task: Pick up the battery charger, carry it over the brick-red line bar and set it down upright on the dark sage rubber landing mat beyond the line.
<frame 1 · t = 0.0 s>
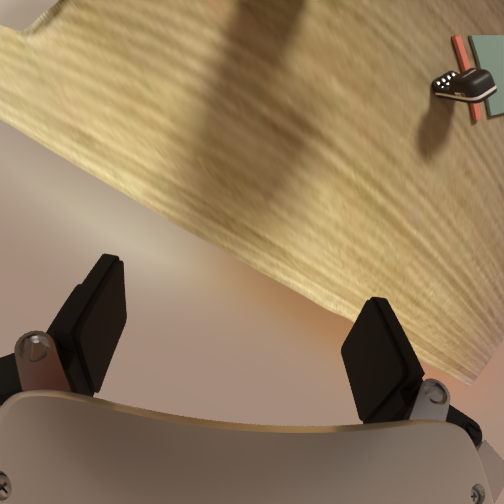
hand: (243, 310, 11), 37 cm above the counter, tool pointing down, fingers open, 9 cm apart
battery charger: (443, 81, 37), on the counter
landing mat: (497, 73, 34), on the counter
line bar: (466, 77, 35), on the counter
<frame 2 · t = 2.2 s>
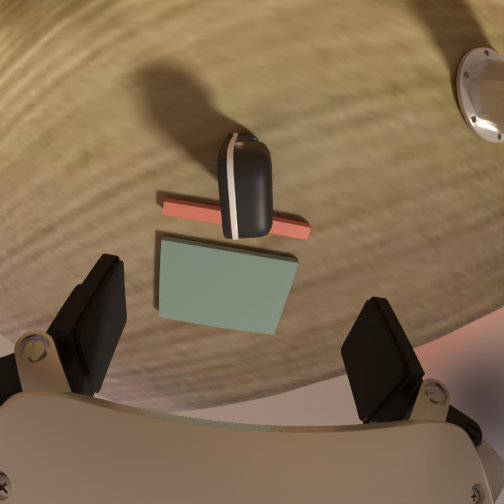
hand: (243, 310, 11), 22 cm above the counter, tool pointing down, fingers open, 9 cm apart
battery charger: (247, 163, 30), on the counter
landing mat: (223, 288, 38), on the counter
line bar: (237, 215, 33), on the counter
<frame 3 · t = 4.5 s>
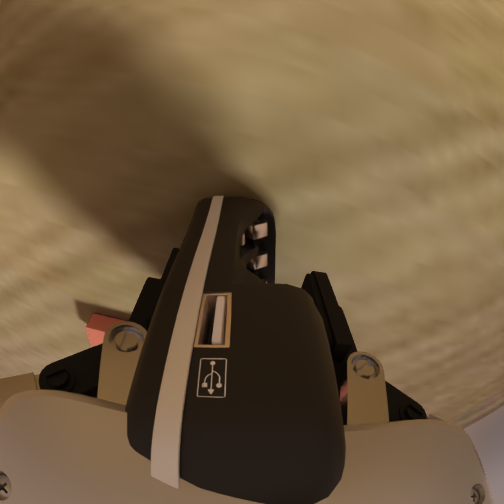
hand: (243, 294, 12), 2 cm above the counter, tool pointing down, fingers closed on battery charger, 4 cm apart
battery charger: (246, 259, 14), on the counter, touching gripper
line bar: (225, 347, 17), on the counter
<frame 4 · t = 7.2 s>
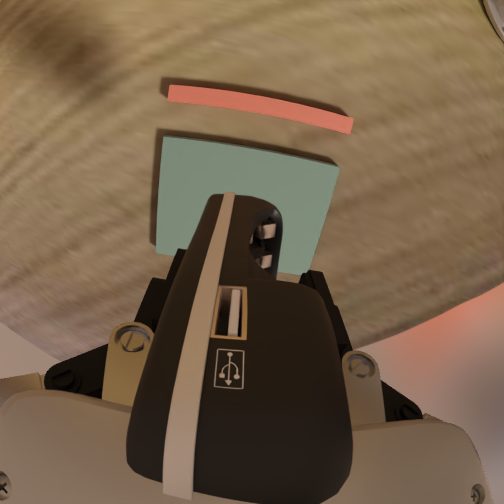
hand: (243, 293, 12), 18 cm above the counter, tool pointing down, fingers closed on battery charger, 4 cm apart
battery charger: (249, 258, 14), point 15 cm above the counter, touching gripper
landing mat: (241, 207, 29), on the counter
line bar: (261, 104, 24), on the counter
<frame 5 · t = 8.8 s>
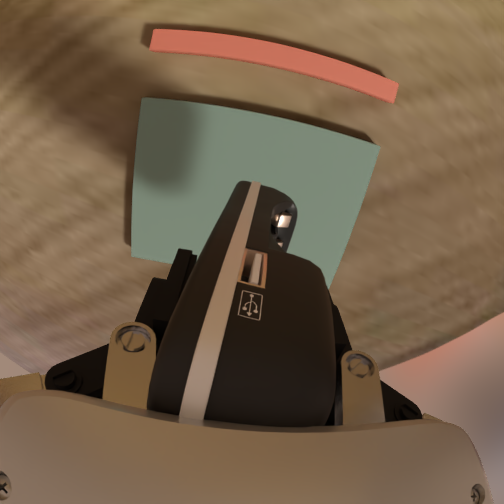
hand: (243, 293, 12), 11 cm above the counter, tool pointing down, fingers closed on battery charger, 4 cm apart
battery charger: (261, 244, 16), point 6 cm above the counter, touching gripper
landing mat: (246, 196, 21), on the counter
line bar: (277, 57, 16), on the counter
when the fingers open (5 cm above the counter, at t = 10.2 s): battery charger stays where it is, resting on landing mat.
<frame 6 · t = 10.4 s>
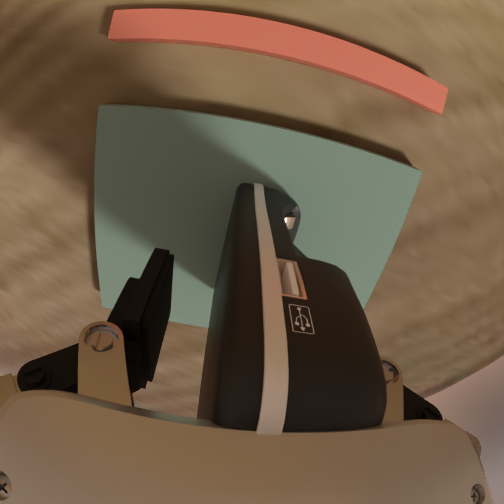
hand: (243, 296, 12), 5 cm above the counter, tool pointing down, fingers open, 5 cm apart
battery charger: (261, 246, 15), point 1 cm above the counter, touching landing mat
landing mat: (244, 236, 16), on the counter
line bar: (287, 45, 11), on the counter
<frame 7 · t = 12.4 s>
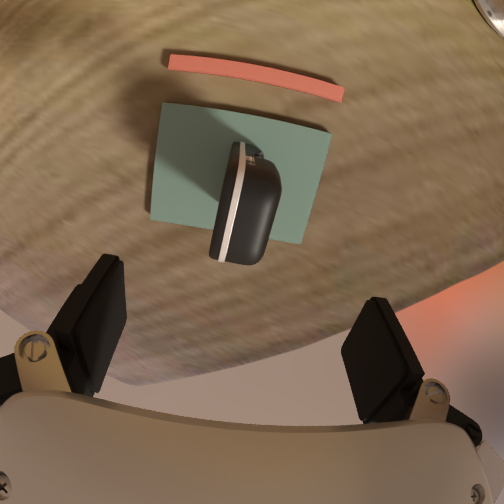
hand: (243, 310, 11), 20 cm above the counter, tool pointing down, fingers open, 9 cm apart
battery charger: (245, 176, 28), point 1 cm above the counter, touching landing mat
landing mat: (236, 173, 29), on the counter
line bar: (256, 74, 24), on the counter
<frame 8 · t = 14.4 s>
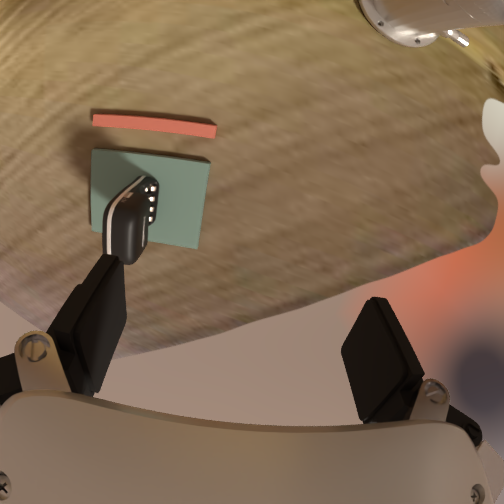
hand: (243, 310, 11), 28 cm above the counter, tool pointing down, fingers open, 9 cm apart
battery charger: (150, 199, 37), point 1 cm above the counter, touching landing mat
landing mat: (145, 197, 38), on the counter
line bar: (153, 123, 33), on the counter
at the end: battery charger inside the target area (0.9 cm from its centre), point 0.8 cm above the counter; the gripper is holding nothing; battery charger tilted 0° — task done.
